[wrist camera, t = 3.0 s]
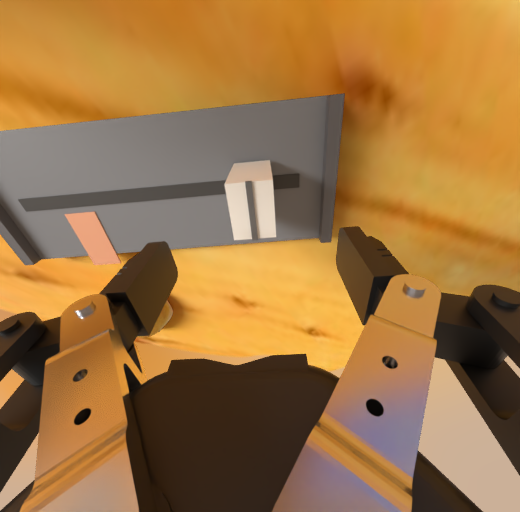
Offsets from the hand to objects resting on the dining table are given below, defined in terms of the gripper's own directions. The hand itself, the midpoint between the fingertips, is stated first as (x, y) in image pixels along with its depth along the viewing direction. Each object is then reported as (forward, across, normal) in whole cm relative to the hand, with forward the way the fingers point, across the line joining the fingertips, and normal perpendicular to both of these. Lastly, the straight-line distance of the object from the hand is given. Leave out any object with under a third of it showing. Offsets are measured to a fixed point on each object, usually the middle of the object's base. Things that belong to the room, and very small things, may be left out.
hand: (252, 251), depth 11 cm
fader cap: (+11, 0, 0) cm, 11 cm away
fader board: (+13, +9, 0) cm, 16 cm away
